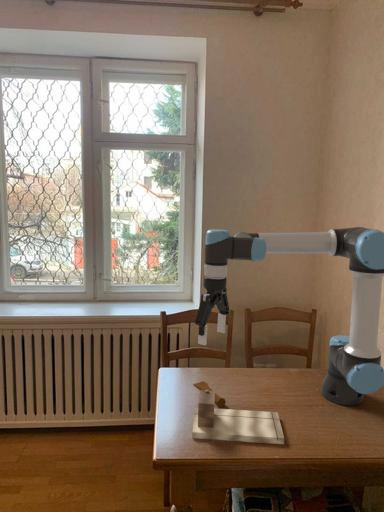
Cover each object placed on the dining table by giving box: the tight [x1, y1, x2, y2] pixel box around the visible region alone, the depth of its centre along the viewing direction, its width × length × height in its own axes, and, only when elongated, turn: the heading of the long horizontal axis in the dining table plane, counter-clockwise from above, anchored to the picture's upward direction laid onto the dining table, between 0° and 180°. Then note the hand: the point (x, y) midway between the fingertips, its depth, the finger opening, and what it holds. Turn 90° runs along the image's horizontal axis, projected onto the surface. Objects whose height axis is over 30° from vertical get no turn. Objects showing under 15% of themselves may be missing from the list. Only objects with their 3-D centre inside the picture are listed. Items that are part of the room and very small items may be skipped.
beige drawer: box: [197, 390, 216, 428], centre depth 124 cm, size 5×8×9 cm, turn 176°
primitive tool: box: [192, 380, 227, 408], centre depth 144 cm, size 19×6×4 cm, turn 28°
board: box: [191, 406, 285, 445], centre depth 124 cm, size 28×14×2 cm, turn 86°
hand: (212, 338), depth 130 cm, fingers open, 13 cm apart
